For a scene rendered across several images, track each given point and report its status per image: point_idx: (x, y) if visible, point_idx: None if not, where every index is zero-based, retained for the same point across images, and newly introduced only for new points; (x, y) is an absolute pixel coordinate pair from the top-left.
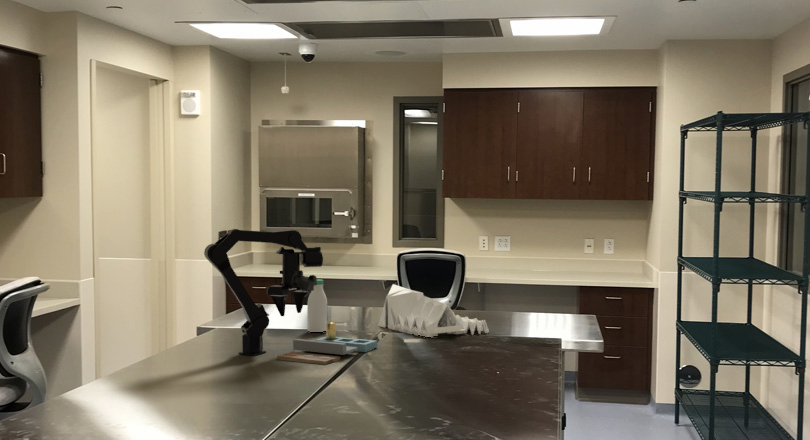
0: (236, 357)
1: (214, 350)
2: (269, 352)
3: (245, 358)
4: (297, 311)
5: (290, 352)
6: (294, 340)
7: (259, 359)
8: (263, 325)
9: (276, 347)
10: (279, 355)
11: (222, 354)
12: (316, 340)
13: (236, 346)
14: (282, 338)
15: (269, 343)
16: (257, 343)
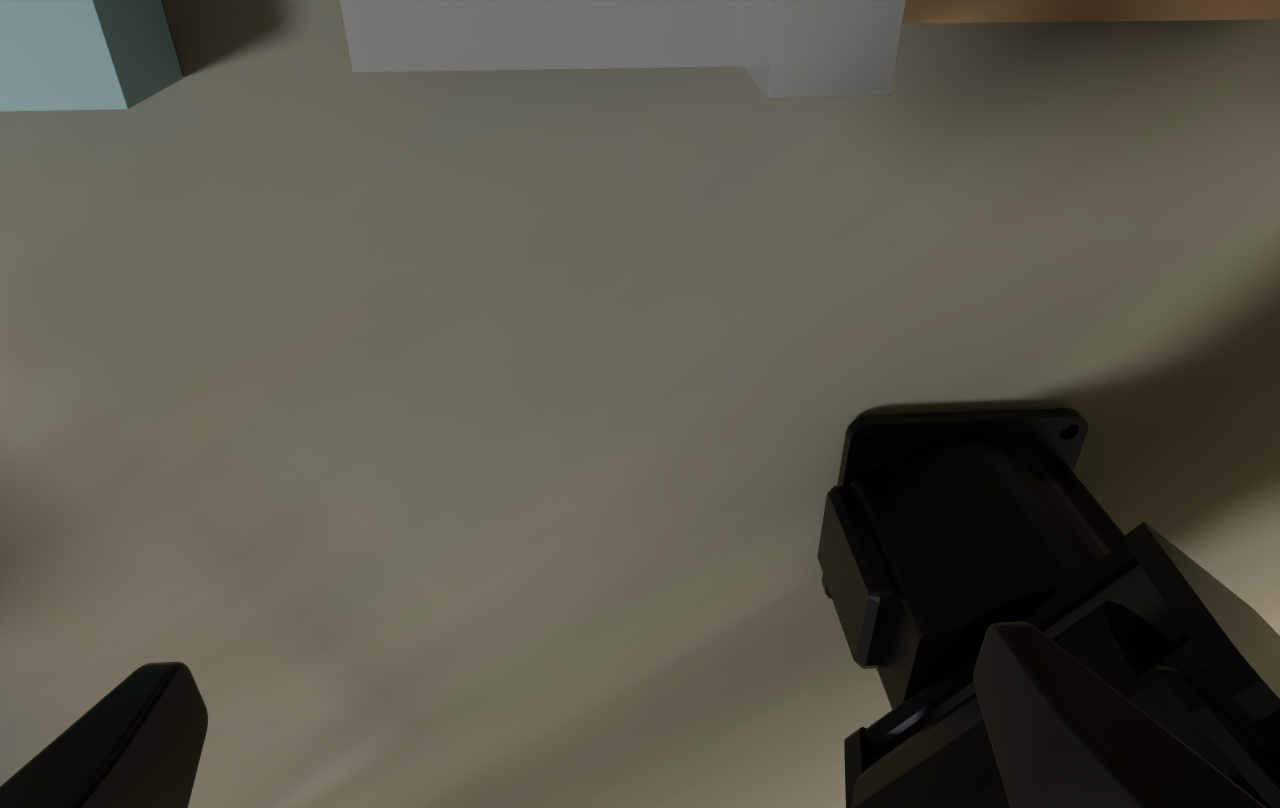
0: (1171, 503)
1: None
2: (821, 395)
3: (1215, 403)
4: (196, 749)
5: (965, 8)
6: (893, 57)
7: (1264, 233)
8: (1243, 639)
9: (523, 505)
10: (1234, 16)
11: None
12: (117, 58)
13: (673, 780)
14: None
15: (383, 676)
16: (1052, 508)
